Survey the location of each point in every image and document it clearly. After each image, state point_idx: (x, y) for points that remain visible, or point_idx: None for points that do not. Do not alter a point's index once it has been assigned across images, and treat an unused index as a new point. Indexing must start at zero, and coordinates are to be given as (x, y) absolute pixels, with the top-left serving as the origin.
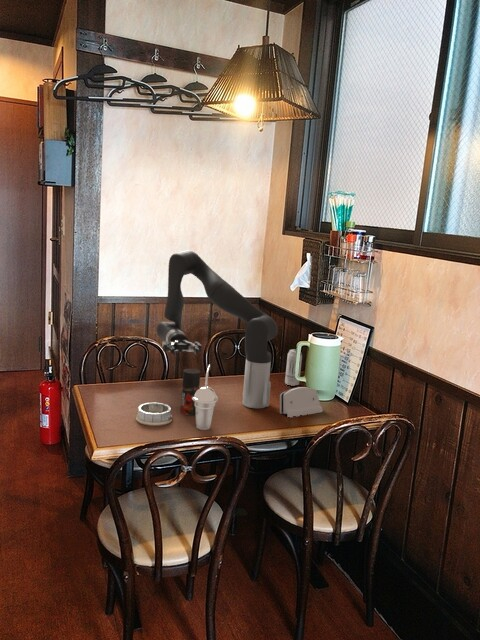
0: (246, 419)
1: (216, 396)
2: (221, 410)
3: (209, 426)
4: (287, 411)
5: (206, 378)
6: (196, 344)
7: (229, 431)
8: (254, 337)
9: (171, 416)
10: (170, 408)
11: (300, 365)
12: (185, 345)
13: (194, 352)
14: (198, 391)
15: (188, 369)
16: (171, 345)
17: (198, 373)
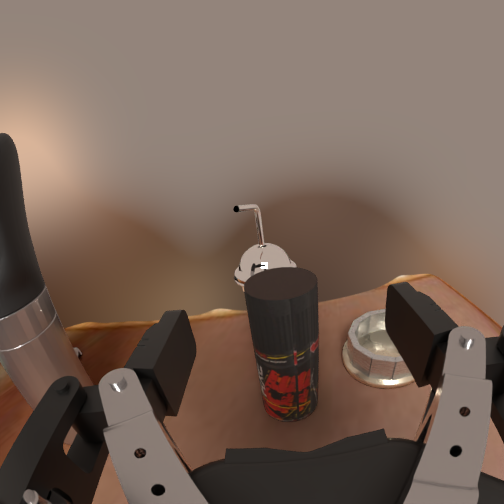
0: None
1: (237, 271)
2: (186, 407)
3: None
4: (74, 348)
5: (260, 221)
6: (51, 464)
7: (225, 321)
8: (21, 195)
9: (345, 356)
10: (350, 335)
11: None
12: (244, 453)
13: (184, 380)
14: (282, 249)
15: (292, 290)
16: (455, 334)
17: (258, 274)
